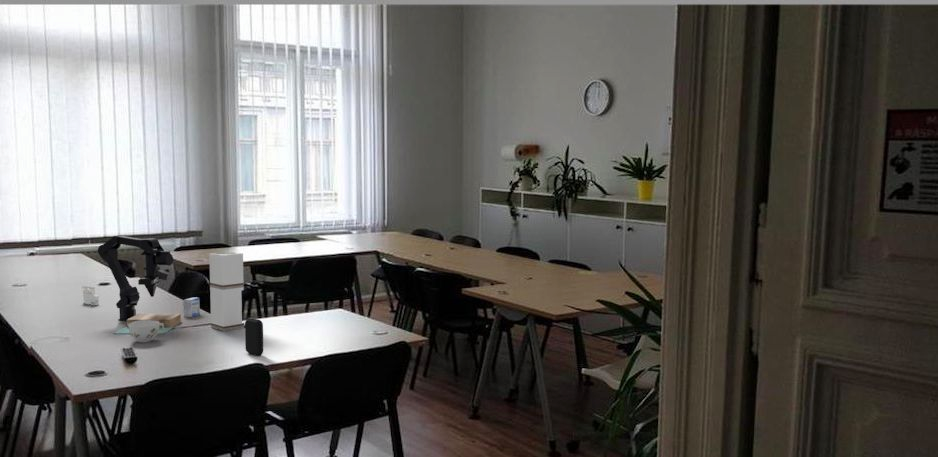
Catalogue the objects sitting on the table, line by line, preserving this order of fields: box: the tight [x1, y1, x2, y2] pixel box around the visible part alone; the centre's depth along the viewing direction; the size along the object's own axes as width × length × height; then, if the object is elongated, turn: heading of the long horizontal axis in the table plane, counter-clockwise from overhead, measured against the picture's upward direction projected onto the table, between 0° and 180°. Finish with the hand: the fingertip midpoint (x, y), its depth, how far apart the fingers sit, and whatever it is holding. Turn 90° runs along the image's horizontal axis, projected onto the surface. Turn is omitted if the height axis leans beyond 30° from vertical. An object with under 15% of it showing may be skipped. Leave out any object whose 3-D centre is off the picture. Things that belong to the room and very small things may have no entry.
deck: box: [126, 313, 182, 329], centre depth 374 cm, size 20×14×4 cm
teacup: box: [128, 320, 164, 343], centre depth 342 cm, size 15×12×8 cm
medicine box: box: [182, 296, 201, 318], centre depth 397 cm, size 8×4×9 cm, turn 168°
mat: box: [113, 326, 173, 335], centre depth 362 cm, size 22×12×1 cm, turn 91°
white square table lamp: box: [209, 251, 245, 332], centre depth 369 cm, size 11×11×35 cm
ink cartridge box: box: [82, 285, 100, 306], centre depth 426 cm, size 2×11×10 cm, turn 57°
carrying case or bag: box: [243, 317, 264, 357], centre depth 319 cm, size 11×3×15 cm, turn 54°
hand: (152, 296), depth 382 cm, fingers closed
